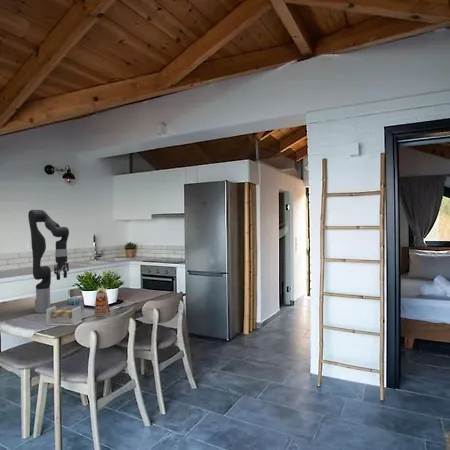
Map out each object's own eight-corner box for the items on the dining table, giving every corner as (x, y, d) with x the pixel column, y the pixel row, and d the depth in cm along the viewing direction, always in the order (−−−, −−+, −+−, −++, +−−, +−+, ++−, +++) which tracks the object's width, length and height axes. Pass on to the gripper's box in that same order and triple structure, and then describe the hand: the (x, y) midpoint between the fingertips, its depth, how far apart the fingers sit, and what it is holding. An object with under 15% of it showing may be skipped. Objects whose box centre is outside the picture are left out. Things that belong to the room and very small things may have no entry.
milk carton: (97, 312, 254) (96, 285, 254) (110, 312, 255) (109, 284, 254) (93, 316, 245) (93, 287, 244) (107, 315, 245) (106, 287, 245)
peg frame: (45, 325, 225) (45, 309, 225) (53, 321, 234) (53, 306, 234) (75, 325, 223) (74, 309, 223) (82, 321, 232) (82, 306, 232)
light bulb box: (75, 313, 252) (75, 298, 252) (66, 313, 253) (66, 298, 253) (84, 310, 262) (83, 295, 262) (76, 309, 264) (75, 295, 264)
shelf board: (51, 316, 226) (51, 311, 226) (56, 314, 231) (56, 309, 231) (72, 316, 225) (72, 312, 225) (76, 314, 230) (76, 310, 230)
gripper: (61, 254, 253) (62, 277, 253) (50, 256, 239) (50, 280, 239) (71, 254, 252) (72, 277, 253) (60, 256, 238) (61, 280, 238)
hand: (61, 278), depth 246 cm, fingers open, 8 cm apart
